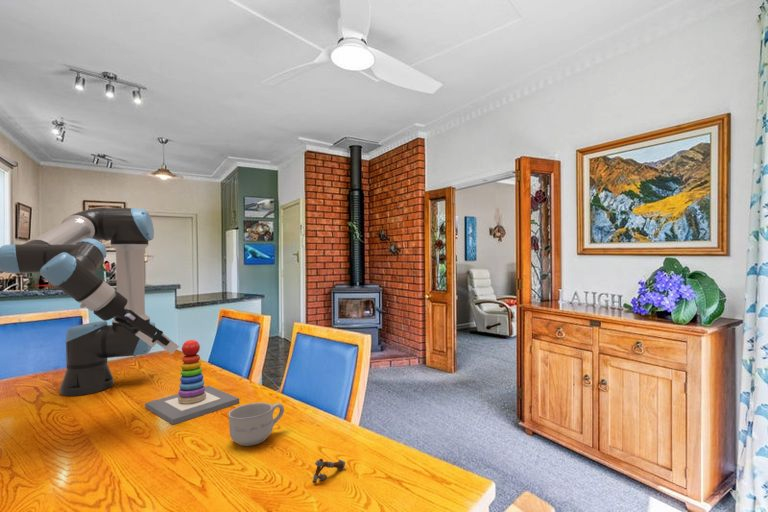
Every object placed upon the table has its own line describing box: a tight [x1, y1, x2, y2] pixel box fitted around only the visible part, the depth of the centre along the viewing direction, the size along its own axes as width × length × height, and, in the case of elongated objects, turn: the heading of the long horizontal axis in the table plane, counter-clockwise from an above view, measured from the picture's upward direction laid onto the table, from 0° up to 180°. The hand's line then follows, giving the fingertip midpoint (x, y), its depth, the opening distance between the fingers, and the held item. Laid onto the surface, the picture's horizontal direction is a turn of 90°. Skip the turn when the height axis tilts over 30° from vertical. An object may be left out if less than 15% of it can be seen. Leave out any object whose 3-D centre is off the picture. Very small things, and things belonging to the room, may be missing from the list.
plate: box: [144, 385, 240, 426], centre depth 121 cm, size 20×20×2 cm
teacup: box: [227, 402, 285, 447], centre depth 98 cm, size 14×11×8 cm
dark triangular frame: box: [312, 458, 346, 484], centre depth 81 cm, size 2×8×4 cm, turn 140°
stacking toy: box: [177, 339, 206, 404], centre depth 121 cm, size 8×8×19 cm
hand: (165, 346), depth 115 cm, fingers open, 13 cm apart
